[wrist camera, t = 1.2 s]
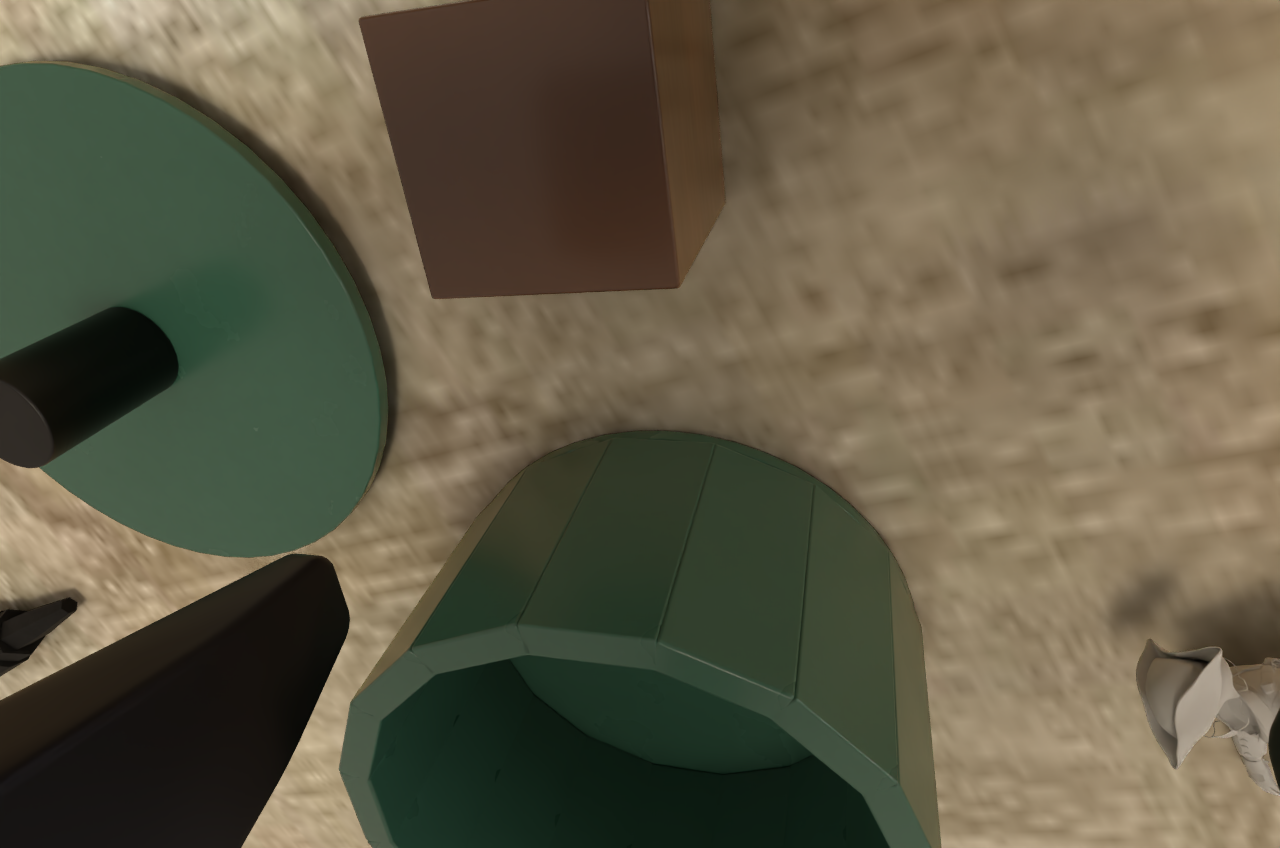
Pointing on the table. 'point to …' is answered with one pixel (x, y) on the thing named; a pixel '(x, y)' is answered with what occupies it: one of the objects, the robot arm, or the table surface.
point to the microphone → (29, 630)
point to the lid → (175, 322)
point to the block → (552, 140)
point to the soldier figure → (1210, 703)
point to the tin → (653, 667)
